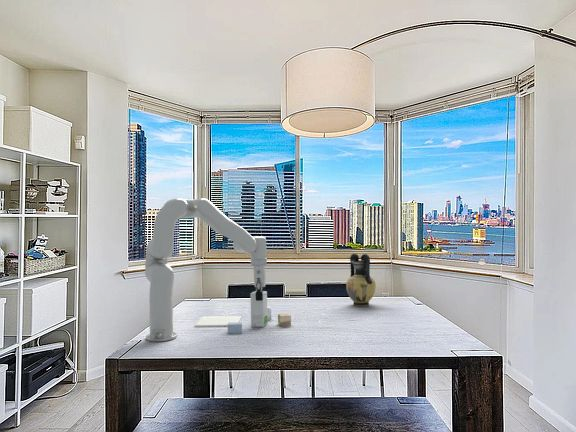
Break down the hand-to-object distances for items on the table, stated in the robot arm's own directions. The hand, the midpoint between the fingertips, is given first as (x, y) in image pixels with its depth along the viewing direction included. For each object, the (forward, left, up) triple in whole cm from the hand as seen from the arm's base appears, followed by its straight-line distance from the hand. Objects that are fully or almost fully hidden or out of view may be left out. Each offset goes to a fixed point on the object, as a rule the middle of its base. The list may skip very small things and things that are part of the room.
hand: (259, 298), depth 210 cm
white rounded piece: (+13, -3, -13) cm, 18 cm away
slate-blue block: (-13, +11, -13) cm, 21 cm away
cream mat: (+8, +20, -13) cm, 25 cm away
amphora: (+49, -57, -13) cm, 76 cm away
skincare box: (0, 0, -13) cm, 13 cm away
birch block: (0, -12, -13) cm, 17 cm away
